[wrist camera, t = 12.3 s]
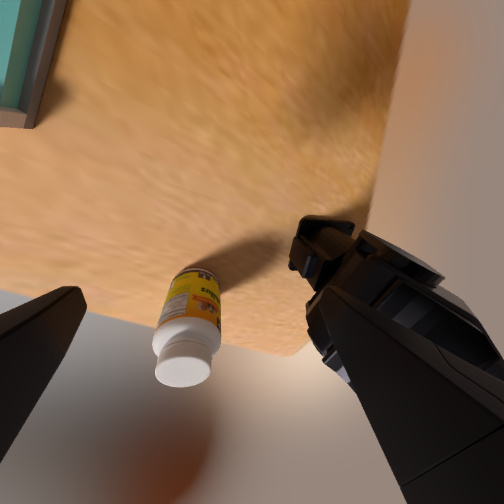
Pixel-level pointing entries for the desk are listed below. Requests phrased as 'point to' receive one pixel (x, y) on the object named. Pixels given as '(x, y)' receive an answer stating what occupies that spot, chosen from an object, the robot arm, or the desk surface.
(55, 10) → the pusher lane
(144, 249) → the desk surface
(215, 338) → the supplement bottle
